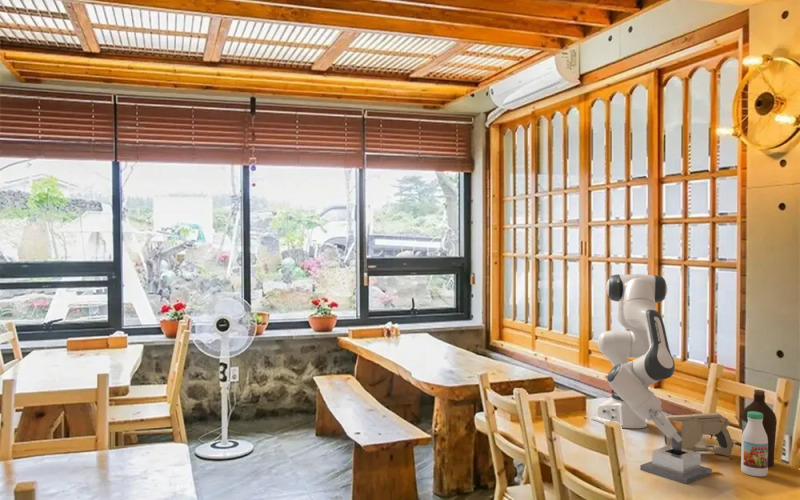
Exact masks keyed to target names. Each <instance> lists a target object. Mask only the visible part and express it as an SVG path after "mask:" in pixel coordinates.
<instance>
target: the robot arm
mask: <svg viewBox="0 0 800 500" xmlns="http://www.w3.org/2000/svg"><path fill="white" fill-rule="evenodd" d="M665 279H666V278H664V277H663V276H660V275H657V274H654V275H651V274H650V275H649V274H643V273H636V274H634V273H633V274H613V275H610V277H609V278H608V280H607V282H606V285H605V290H606V293H607V297H608V298H609V299H610V300H611V301H614V302H618V304H617V320H618V323H619V324H620V325H621V326H622V327H623V328H625V329H627V330H621V329H619V330H617V329H616V330H614V329H613V330H604V331H602V332H600V334H599V335H598V337H597V347H598V350H599V351H600V352H601V354H602V355H603V356H605V357H606V358H607V359H608V361H610V364H611V366H612V368H611V369H610V371H608V374H607V377H606V381H607V383H608V385H609V386H610V388H611V390H609V394H611V395H610V397H609V398H607V399H606V400H604V401H602V402H601V403H599V405H598V407H597V410H596V413H595V414H593V415H591V420H592V421H595V422H598V423H601V424H604V422H605V421H617V422H619V423H620V424H621V427H622V428H623V429H644V428H647V426H648V425H647V422H646V421H648V422H650V421H652V422H653V424H654V425H655V426H656V427H657V428H658V429H659V430H660V431H661V432H662V433H663V435H664V434H665V435H666V436H667V437H668V438H672V437H673V438H674V439H675V440H676V441H677V442H680V441H681V440H682V438H681V437H680V436H679V435H678V434H677V430H676V429H675V427H674V426H673V425H672V423H671V422H670V421H669V419H668V418H667V417H666V416H667V415H666V414H665V412H664V411H663V407H662V400H660V398H659V397H657V395H655V393H653V392H652V391H651V389H649V387H650V385H653V384H655V383H658V382H660V381H664V380H666V379H670V378H671V377H672V376H673V375H674V373H675V368H676V367H675V366H676V365H675V364H676V363H675V361H674V360H675V359H674V357H673V355H672V353H671V350H670V346H669V342H668V337H667V331H666V327H665V322H664V320H663V318H662V315H661V313H660V312H658V311H657V309H656V308H657V307H656V304H657V303H662V302H663V301H664V300H665V299H666V296H667V294H668V284H667V281H666V280H665ZM629 358H633V360H631V361H629V360H628V359H629ZM634 358H635V359H634ZM622 428H621V429H622Z"/></svg>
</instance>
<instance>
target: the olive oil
mask: <svg viewBox="0 0 800 500" xmlns="http://www.w3.org/2000/svg"><path fill="white" fill-rule="evenodd" d="M753 392H754V393H753V401H752V402H751V403H750V404H748V405H747V406H746V407H745V408H743V410H742V413H741V434H743V431H744V429H745V427H746V425H747V423H748V419H747V413H748V412H749V411H755V412H760V413H762V414H763V421H762V424H763V427H764V430H765V432H766V434H767V438H768V468H771V467H773V466H774V463H775V451H776V450H775V447H776V438H777V437H776V435H777V423H778V422H777V420H778V419H777V416H776V414H775V412H774V411H773V410H772V408H771V407H770V406H769V405H768V404H767V403H766V399H765V398H766V394H765V393H766V392H765V390H764V389H763V390H762V389H754V390H753Z"/></svg>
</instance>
